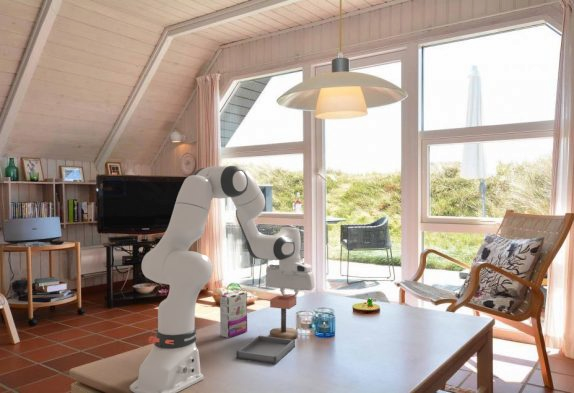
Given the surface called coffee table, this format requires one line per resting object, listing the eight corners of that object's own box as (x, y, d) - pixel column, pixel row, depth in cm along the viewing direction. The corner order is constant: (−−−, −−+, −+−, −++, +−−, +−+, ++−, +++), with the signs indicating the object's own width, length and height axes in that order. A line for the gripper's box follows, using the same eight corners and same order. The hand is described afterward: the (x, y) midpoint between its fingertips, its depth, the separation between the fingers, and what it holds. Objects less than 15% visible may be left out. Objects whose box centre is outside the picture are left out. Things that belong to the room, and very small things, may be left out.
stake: (291, 342, 174) (291, 308, 174) (265, 339, 178) (265, 305, 178) (301, 334, 184) (301, 301, 184) (276, 331, 188) (276, 299, 188)
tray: (275, 364, 151) (275, 356, 151) (236, 358, 157) (236, 351, 157) (295, 346, 169) (295, 340, 169) (258, 342, 174) (258, 335, 174)
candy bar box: (238, 329, 190) (238, 290, 190) (247, 331, 187) (247, 291, 187) (219, 336, 181) (219, 294, 181) (228, 338, 178) (228, 296, 178)
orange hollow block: (289, 309, 175) (289, 301, 175) (270, 307, 178) (270, 299, 178) (300, 302, 187) (300, 294, 187) (281, 300, 190) (281, 293, 190)
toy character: (385, 311, 221) (385, 298, 221) (370, 316, 212) (370, 302, 212) (367, 307, 229) (367, 294, 229) (351, 312, 220) (351, 298, 220)
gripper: (263, 265, 188) (263, 298, 188) (310, 268, 181) (310, 303, 181) (269, 263, 194) (269, 295, 194) (315, 266, 186) (315, 300, 186)
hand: (289, 299), depth 187 cm, fingers closed on orange hollow block, 2 cm apart
